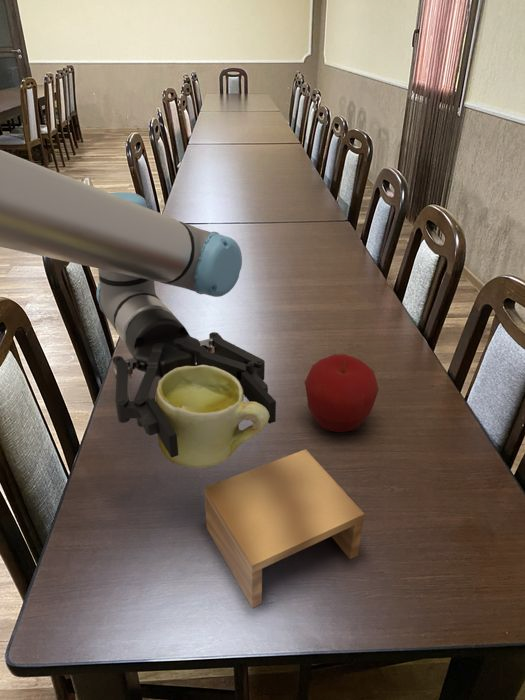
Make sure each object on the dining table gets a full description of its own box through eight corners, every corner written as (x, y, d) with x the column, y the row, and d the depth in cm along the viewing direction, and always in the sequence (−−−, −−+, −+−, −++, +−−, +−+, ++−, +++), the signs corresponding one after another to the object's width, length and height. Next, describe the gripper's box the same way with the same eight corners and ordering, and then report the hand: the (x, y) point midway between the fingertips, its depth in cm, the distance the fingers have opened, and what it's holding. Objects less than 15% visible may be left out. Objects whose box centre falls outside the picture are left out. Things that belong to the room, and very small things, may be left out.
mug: (121, 446, 58) (146, 365, 54) (178, 420, 67) (201, 349, 63) (211, 509, 54) (244, 425, 50) (258, 472, 62) (289, 399, 59)
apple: (299, 403, 88) (303, 341, 82) (364, 402, 88) (372, 341, 82) (306, 448, 79) (310, 382, 72) (379, 447, 79) (389, 381, 73)
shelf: (252, 608, 57) (252, 565, 53) (206, 528, 66) (203, 487, 62) (358, 555, 63) (364, 513, 59) (303, 488, 72) (305, 448, 68)
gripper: (230, 338, 78) (317, 423, 61) (68, 380, 68) (118, 495, 51) (229, 290, 74) (321, 368, 57) (57, 328, 64) (107, 435, 48)
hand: (225, 428), depth 54 cm, fingers closed on mug, 10 cm apart
